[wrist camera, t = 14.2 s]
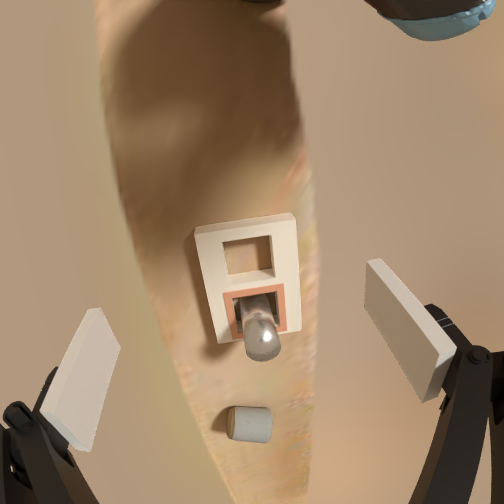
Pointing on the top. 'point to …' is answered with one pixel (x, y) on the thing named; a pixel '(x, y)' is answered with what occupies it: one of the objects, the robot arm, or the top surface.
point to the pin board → (255, 282)
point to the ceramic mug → (249, 424)
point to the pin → (259, 328)
